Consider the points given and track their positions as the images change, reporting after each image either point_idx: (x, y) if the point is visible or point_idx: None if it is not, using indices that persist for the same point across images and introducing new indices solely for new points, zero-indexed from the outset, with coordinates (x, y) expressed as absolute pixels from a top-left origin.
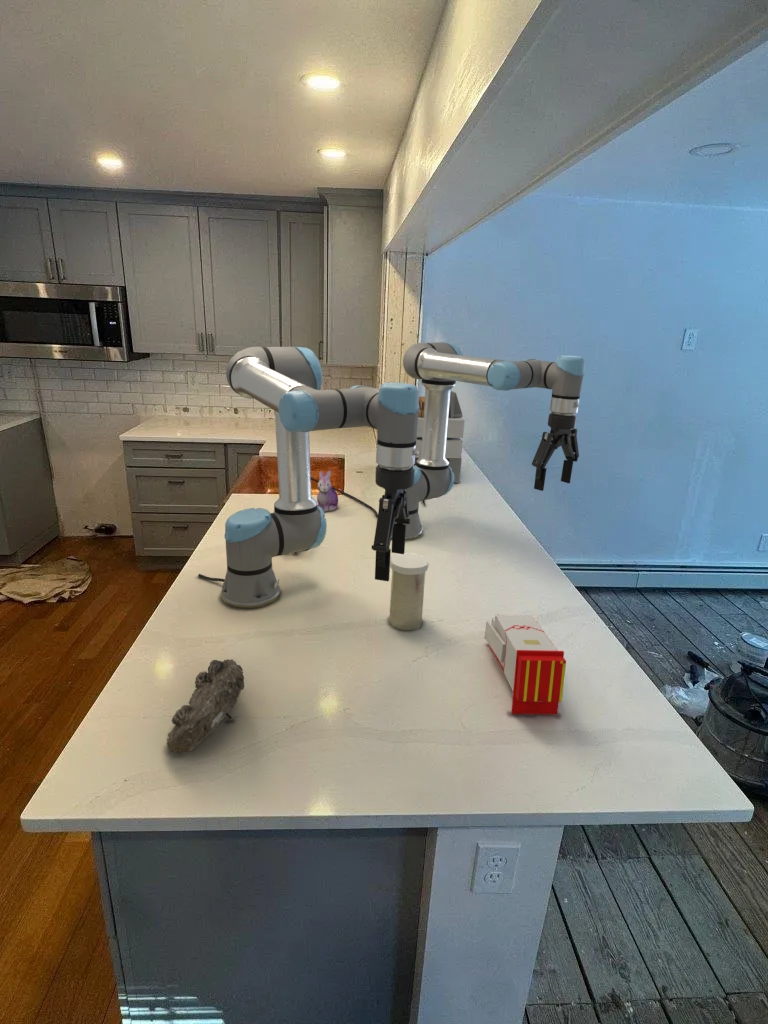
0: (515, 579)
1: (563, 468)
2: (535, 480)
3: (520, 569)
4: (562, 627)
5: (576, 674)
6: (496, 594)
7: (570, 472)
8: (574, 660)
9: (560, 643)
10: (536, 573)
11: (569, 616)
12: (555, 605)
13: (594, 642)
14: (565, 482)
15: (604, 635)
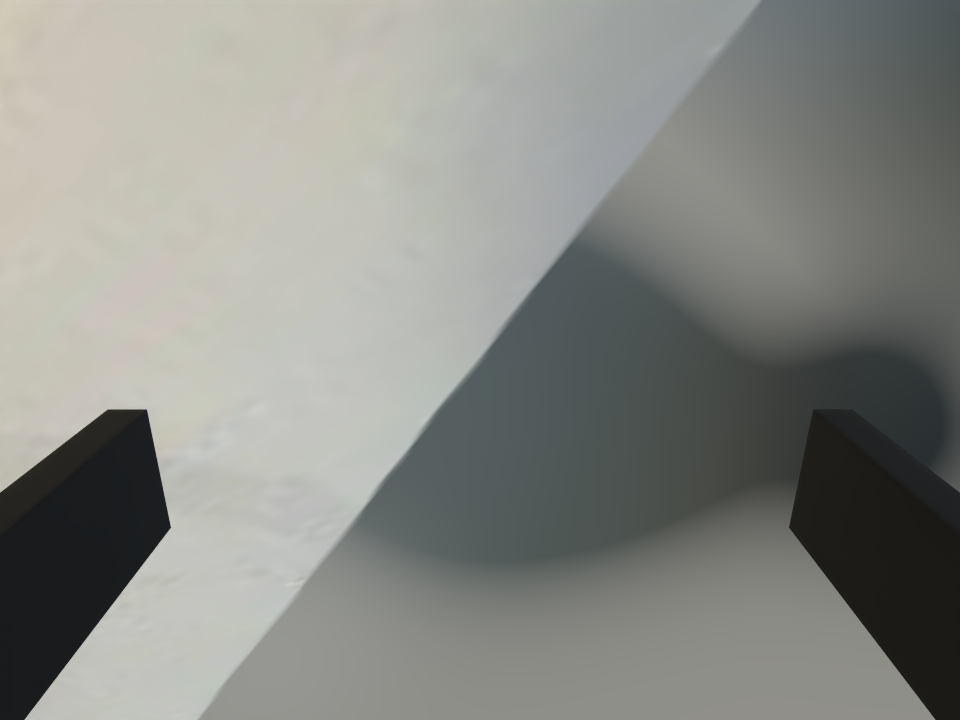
0: (314, 212)
1: (954, 555)
2: (22, 487)
3: (428, 153)
4: (174, 544)
5: None
6: (120, 255)
7: (892, 654)
8: None
9: None
10: (459, 233)
11: (258, 521)
12: (278, 452)
13: (197, 637)
14: (798, 484)
15: (260, 636)
